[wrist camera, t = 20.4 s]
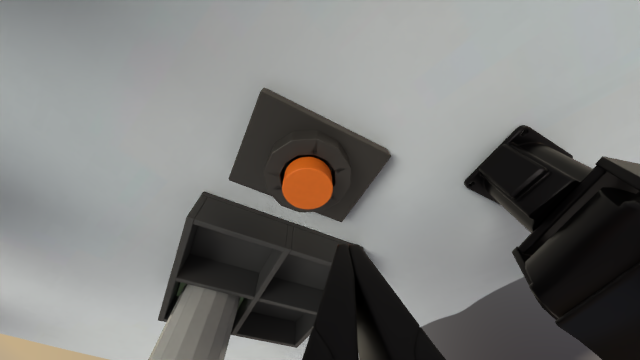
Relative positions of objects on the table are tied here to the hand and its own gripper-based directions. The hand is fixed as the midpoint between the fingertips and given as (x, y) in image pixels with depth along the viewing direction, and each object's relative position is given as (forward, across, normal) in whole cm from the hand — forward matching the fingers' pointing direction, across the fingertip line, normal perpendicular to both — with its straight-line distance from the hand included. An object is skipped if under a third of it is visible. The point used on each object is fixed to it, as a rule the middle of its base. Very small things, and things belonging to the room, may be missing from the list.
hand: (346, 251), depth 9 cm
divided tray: (+12, +7, +18) cm, 22 cm away
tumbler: (+11, +13, +20) cm, 26 cm away
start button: (+9, +2, +2) cm, 10 cm away
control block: (+12, +2, +2) cm, 12 cm away
